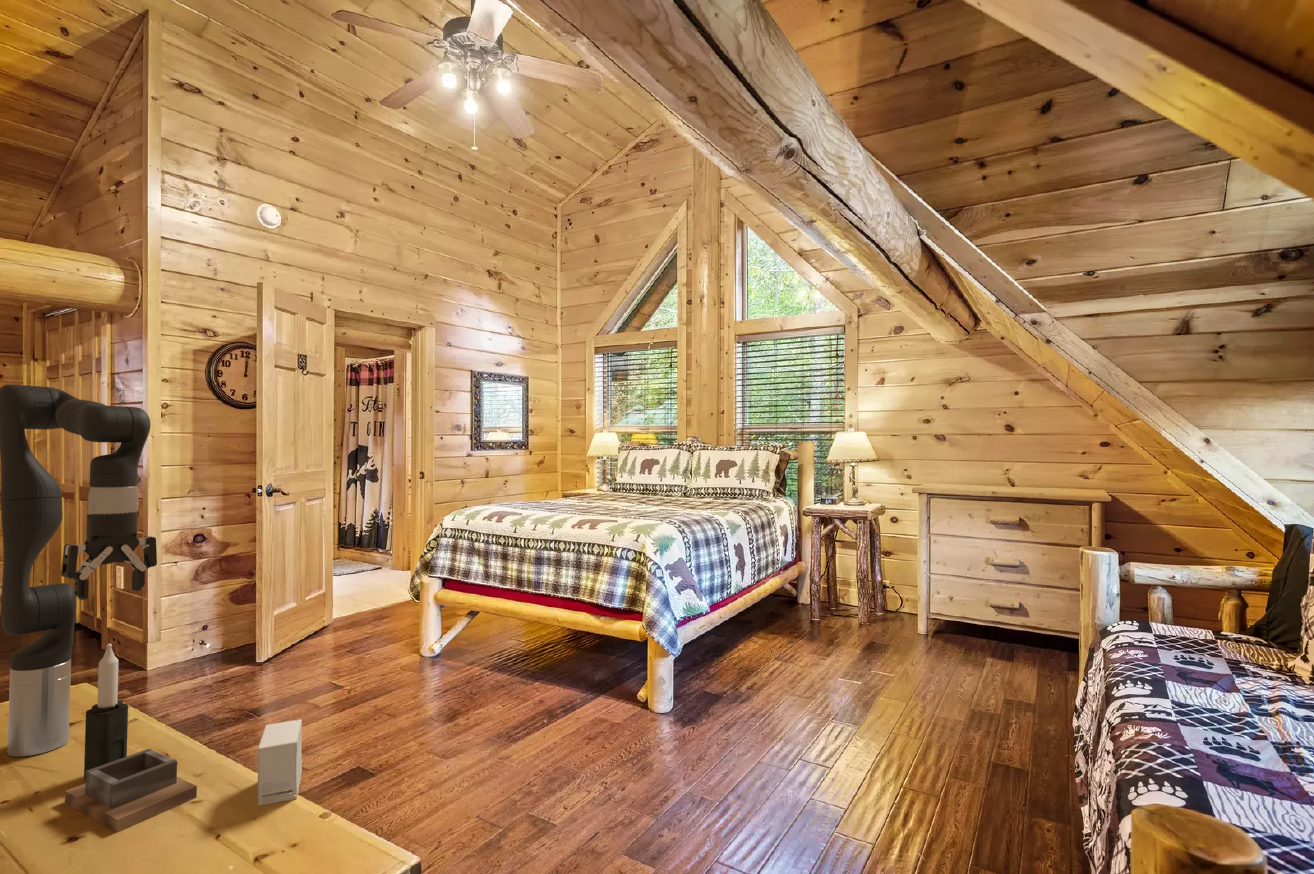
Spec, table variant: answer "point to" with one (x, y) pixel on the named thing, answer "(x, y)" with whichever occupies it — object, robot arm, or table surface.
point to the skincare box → (279, 762)
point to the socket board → (131, 790)
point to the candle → (106, 718)
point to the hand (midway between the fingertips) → (110, 594)
